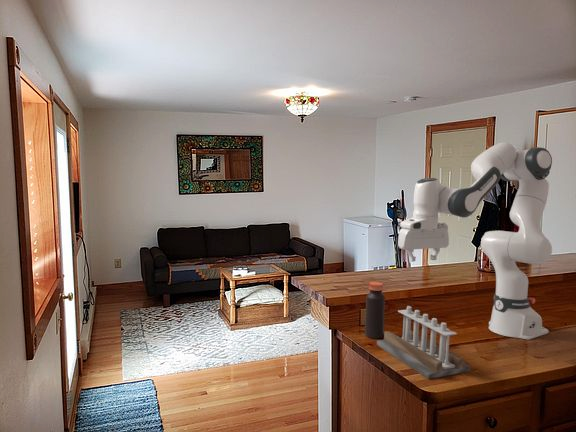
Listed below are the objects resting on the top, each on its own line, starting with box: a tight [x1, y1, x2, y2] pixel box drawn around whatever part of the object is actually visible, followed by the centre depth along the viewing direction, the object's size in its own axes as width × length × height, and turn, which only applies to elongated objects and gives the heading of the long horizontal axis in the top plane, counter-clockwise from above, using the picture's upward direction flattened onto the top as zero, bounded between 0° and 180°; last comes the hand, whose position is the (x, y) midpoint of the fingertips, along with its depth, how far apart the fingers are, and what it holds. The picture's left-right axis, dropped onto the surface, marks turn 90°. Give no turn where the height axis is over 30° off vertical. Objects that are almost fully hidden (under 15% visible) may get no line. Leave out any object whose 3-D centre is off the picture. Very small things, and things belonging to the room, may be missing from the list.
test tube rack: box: [397, 305, 458, 370], centre depth 152 cm, size 25×4×13 cm, turn 21°
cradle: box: [376, 328, 471, 380], centre depth 153 cm, size 16×28×4 cm, turn 22°
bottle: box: [364, 281, 386, 340], centre depth 171 cm, size 7×7×20 cm
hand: (422, 260), depth 168 cm, fingers open, 8 cm apart
